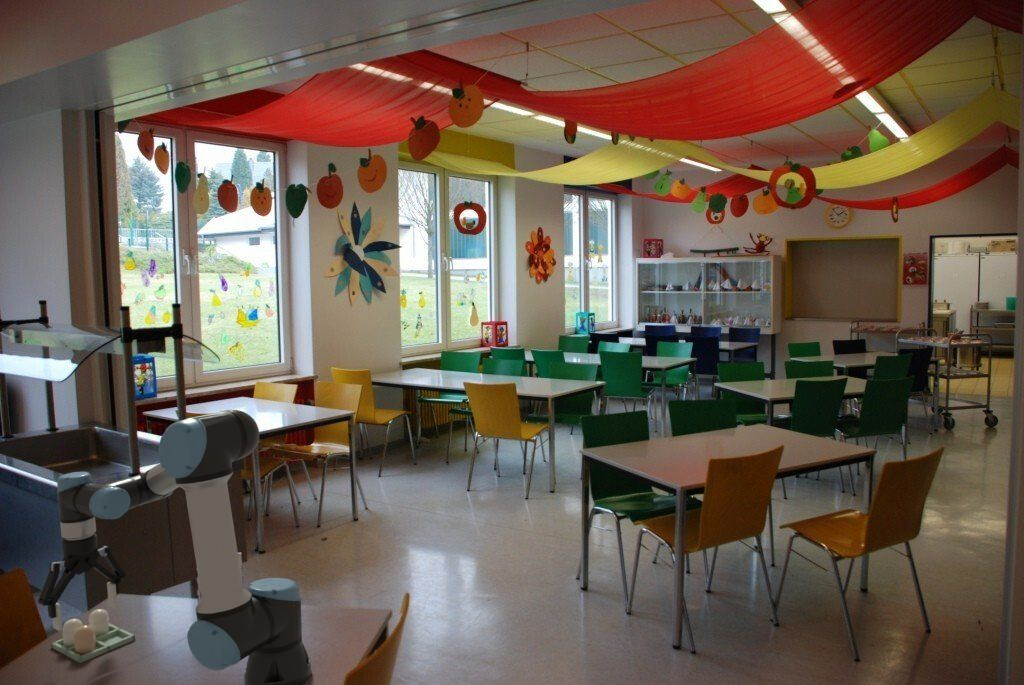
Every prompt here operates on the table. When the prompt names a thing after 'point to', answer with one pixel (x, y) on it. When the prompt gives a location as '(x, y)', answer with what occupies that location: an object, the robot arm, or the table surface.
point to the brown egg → (84, 640)
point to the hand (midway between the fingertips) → (86, 618)
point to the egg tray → (98, 644)
